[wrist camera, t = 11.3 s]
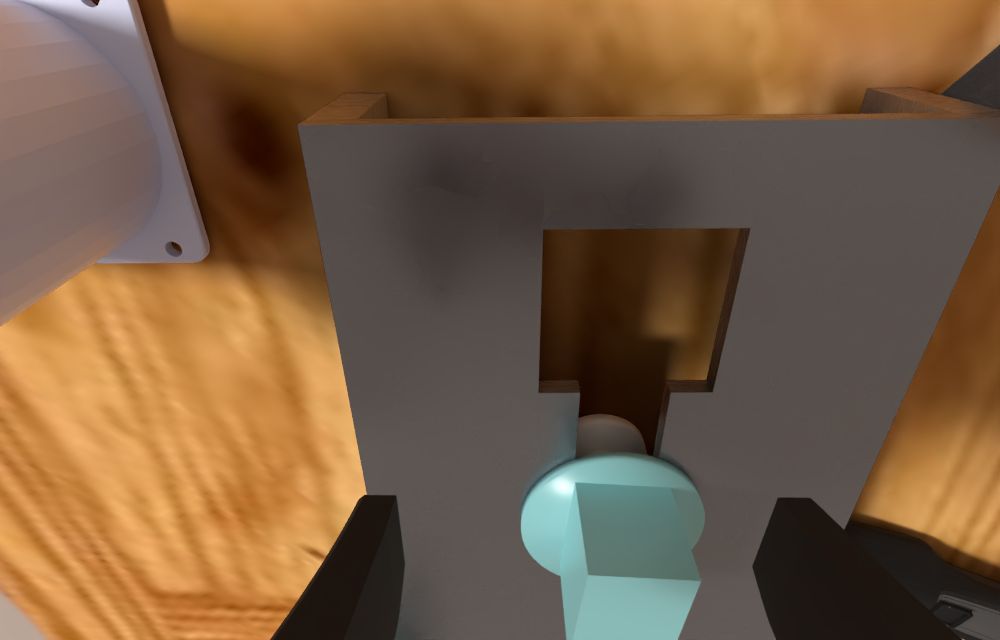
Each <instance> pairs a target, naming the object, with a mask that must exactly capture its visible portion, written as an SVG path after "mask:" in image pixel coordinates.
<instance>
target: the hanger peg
mask: <svg viewBox="0 0 1000 640" xmlns="http://www.w3.org/2000/svg"><path fill="white" fill-rule="evenodd" d="M704 522H705V512H704V507H703V504H702V501H701V498H700V495H699V493H698V490H697V489H696V487H695V485H694V483H693V482H692V481H691V480H690V478H689V477H688V476H687V475H686V474H685V473H683V472H682V471H681V470H680V469H678V468H677V467H675V466H674V465H672V464H670V463H668V462H666V461H664V460H661V459H658V458H655V457H652V456H649V455H647V450H646V447H645V443H644V440H643V437H642V435H641V433H640V431H639V430H638V429H637V428H636V427H635V426H634V425H633V424H632V423H631V422H629V421H627V420H625V419H623V418H621V417H618V416H614V415H608V414H593V415H587V416H583V417H580V418H578V427H577V440H576V453H575V460H572V461H570V462H567V463H565V464H563V465H561V466H559V467H557V468H555V469H554V470H552V471H551V472H549V473H548V474H546V475H545V476H544V477H543V478H542V479H540V480H539V481H538V482H537V483H536V484H535V486H534V487H533V488H532V489H531V490H530V492H529V494H528V495H527V497H526V499H525V501H524V504H523V507H522V511H521V534H522V539H523V542H524V545H525V547H526V549H527V550H528V552H529V554H530V555H531V556H532V557H533V558H534V559H535V560H536V561H537V562H538V563H539V564H540V565H541V566H543V567H544V568H546V569H547V570H549V571H551V572H553V573H555V574H556V575H559V576H561V587H562V598H563V609H564V619H565V630H566V640H678V638H679V635H680V633H681V630H682V628H683V625H684V623H685V620H686V618H687V615H688V613H689V610H690V608H691V605H692V603H693V601H694V598H695V596H696V593H697V591H698V588H699V586H700V583H701V578H700V575H699V572H698V569H697V566H696V563H695V560H694V557H693V554H692V551H691V550H692V549H693V547H694V546H695V545H696V543H697V542H698V540H699V538H700V536H701V534H702V531H703V528H704Z"/></svg>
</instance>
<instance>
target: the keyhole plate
mask: <svg viewBox="0 0 1000 640" xmlns="http://www.w3.org/2000/svg"><path fill="white" fill-rule="evenodd" d="M297 126H298V131H299V137H300V142H301V147H302V152H303V158H304V163H305V168H306V174H307V179H308V184H309V189H310V195H311V200H312V205H313V211H314V216H315V221H316V227H317V232H318V237H319V242H320V248H321V253H322V258H323V264H324V269H325V274H326V279H327V285H328V290H329V295H330V301H331V306H332V311H333V317H334V322H335V327H336V332H337V338H338V343H339V348H340V354H341V359H342V364H343V369H344V375H345V380H346V385H347V391H348V396H349V401H350V407H351V412H352V417H353V422H354V428H355V433H356V438H357V444H358V449H359V454H360V459H361V465H362V470H363V475H364V481H365V486H366V491H367V495H396V496H397V503H398V511H399V519H400V527H401V535H402V543H403V551H404V559H405V571H404V580H403V589H402V597H401V605H400V613H399V621H398V626H397V631H396V635H395V640H566V630H565V619H564V609H563V598H562V587H561V576H559V575H556V574H555V573H553V572H551V571H549V570H547V569H546V568H544V567H543V566H541V565H540V564H539V563H538V562H537V561H536V560H535V559H534V558H533V557H532V556H531V555H530V554H529V552H528V550H527V549H526V547H525V545H524V542H523V539H522V534H521V511H522V507H523V504H524V501H525V499H526V497H527V495H528V494H529V492H530V490H531V489H532V488H533V487H534V486H535V484H536V483H537V482H538V481H539V480H540V479H542V478H543V477H544V476H545V475H546V474H548V473H549V472H551V471H552V470H554V469H555V468H557V467H559V466H561V465H563V464H565V463H567V462H570V461H572V460H575V453H576V440H577V427H578V414H579V401H580V389H579V384H578V380H543V381H539V356H540V322H541V289H542V255H543V230H555V229H687V228H740V229H739V234H738V238H737V243H736V248H735V252H734V257H733V261H732V266H731V270H730V275H729V279H728V284H727V289H726V293H725V298H724V302H723V307H722V311H721V316H720V321H719V325H718V330H717V334H716V339H715V343H714V348H713V352H712V357H711V362H710V366H709V371H708V375H707V380H666V382H665V387H664V393H663V399H662V405H661V411H660V416H659V422H658V428H657V434H656V439H655V445H654V451H653V457H655V458H658V459H661V460H664V461H666V462H668V463H670V464H672V465H674V466H675V467H677V468H678V469H680V470H681V471H682V472H683V473H685V474H686V475H687V476H688V477H689V478H690V480H691V481H692V482H693V483H694V485H695V487H696V489H697V490H698V493H699V495H700V498H701V501H702V504H703V507H704V512H705V522H704V528H703V531H702V534H701V536H700V538H699V540H698V542H697V543H696V545H695V546H694V547H693V549H692V550H691V551H692V554H693V557H694V560H695V563H696V566H697V569H698V572H699V575H700V578H701V583H700V586H699V588H698V591H697V593H696V596H695V598H694V601H693V603H692V605H691V608H690V610H689V613H688V615H687V618H686V620H685V623H684V625H683V628H682V630H681V633H680V635H679V638H678V640H776V638H775V636H774V633H773V631H772V628H771V626H770V624H769V621H768V618H767V615H766V611H765V608H764V605H763V602H762V599H761V595H760V592H759V589H758V585H757V582H756V578H755V575H754V571H753V568H752V565H753V563H754V560H755V557H756V555H757V552H758V549H759V547H760V544H761V541H762V539H763V536H764V533H765V531H766V528H767V525H768V523H769V520H770V517H771V515H772V512H773V509H774V507H775V504H776V501H777V499H778V497H793V498H811V499H812V500H813V501H814V502H816V503H817V504H818V505H819V506H820V507H821V508H822V509H823V510H824V511H825V512H826V513H827V514H828V515H829V516H830V517H831V518H832V519H833V520H835V521H836V522H837V523H838V524H839V525H840V526H841V527H842V528H843V529H845V527H846V525H847V523H848V520H849V518H850V516H851V514H852V512H853V509H854V507H855V505H856V503H857V501H858V498H859V496H860V494H861V492H862V489H863V487H864V485H865V483H866V481H867V478H868V476H869V474H870V472H871V470H872V467H873V465H874V463H875V461H876V458H877V456H878V454H879V452H880V450H881V447H882V445H883V443H884V441H885V438H886V436H887V434H888V432H889V430H890V427H891V425H892V423H893V421H894V419H895V416H896V414H897V412H898V410H899V407H900V405H901V403H902V401H903V399H904V396H905V394H906V392H907V390H908V388H909V385H910V383H911V381H912V379H913V376H914V374H915V372H916V370H917V368H918V365H919V363H920V361H921V359H922V356H923V354H924V352H925V350H926V348H927V345H928V343H929V341H930V339H931V337H932V334H933V332H934V330H935V328H936V325H937V323H938V321H939V319H940V317H941V314H942V312H943V310H944V308H945V306H946V303H947V301H948V299H949V297H950V294H951V292H952V290H953V288H954V286H955V283H956V281H957V279H958V277H959V274H960V272H961V270H962V268H963V266H964V263H965V261H966V259H967V257H968V255H969V252H970V250H971V248H972V246H973V243H974V241H975V239H976V237H977V235H978V232H979V230H980V228H981V226H982V224H983V221H984V219H985V217H986V215H987V212H988V210H989V208H990V206H991V204H992V201H993V199H994V197H995V195H996V193H997V190H998V188H999V186H1000V110H998V109H994V108H990V107H986V106H982V105H978V104H974V103H970V102H966V101H962V100H959V99H955V98H951V97H947V96H943V95H939V94H935V93H931V92H927V91H923V90H919V89H915V88H911V87H906V88H867V92H866V95H865V98H864V102H863V105H862V108H861V111H860V114H785V115H687V116H589V117H491V118H393V119H389V115H388V105H387V96H386V93H351V94H343V95H341V96H340V97H338V98H337V99H335V100H334V101H332V102H331V103H329V104H328V105H326V106H325V107H323V108H322V109H320V110H319V111H317V112H316V113H314V114H313V115H311V116H310V117H308V118H307V119H305V120H304V121H302V122H301V123H299V124H298V125H297Z"/></svg>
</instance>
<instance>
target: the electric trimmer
mask: <svg viewBox="0 0 1000 640" xmlns="http://www.w3.org/2000/svg"><path fill="white" fill-rule="evenodd" d="M844 530H845V531H846V532H847V533H848V534H849V535H850V536H851V537H852V538H853V539H854V540H855V541H856V542H857V543H858V544H859V545H860V546H861V547H862V548H863V549H865V550H866V551H867V552H868V553H869V554H870V555H871V556H872V557H873V558H874V559H875V560H876V561H877V562H878V563H879V564H880V565H881V566H882V567H883V568H884V569H885V570H886V571H888V572H889V573H890V574H891V575H892V576H893V577H894V578H895V579H896V580H897V581H898V582H899V583H900V584H901V585H902V586H903V587H905V588H906V589H907V590H908V591H909V592H910V593H911V594H912V595H913V596H914V597H915V598H916V599H917V600H919V601H920V602H921V603H922V604H923V605H924V606H925V607H926V608H927V609H928V610H930V611H931V612H932V613H933V614H934V615H935V616H936V617H937V618H938V619H940V620H941V621H942V622H943V623H944V624H945V625H946V626H947V627H949V628H950V629H951V630H952V631H953V632H954V633H955V634H956V635H958V636H959V637H960V638H962V639H964V640H1000V583H998V582H995V581H993V580H990V579H987V578H985V577H982V576H979V575H977V574H974V573H971V572H969V571H966V570H964V569H961V568H958V567H956V566H953V565H950V564H948V563H946V562H945V561H944V560H943V559H941V558H940V557H939V556H938V555H937V554H936V553H935V552H934V550H933V549H932V548H931V547H930V546H929V545H928V544H927V543H925V542H924V541H922V540H920V539H917V538H914V537H911V536H907V535H904V534H900V533H896V532H892V531H888V530H884V529H880V528H876V527H872V526H868V525H864V524H860V523H855V522H851V521H848V523H847V525H846V527H845V529H844Z"/></svg>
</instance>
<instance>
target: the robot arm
mask: <svg viewBox="0 0 1000 640" xmlns="http://www.w3.org/2000/svg"><path fill="white" fill-rule="evenodd" d="M171 242H176V243H177V244H178V245H180V247H181V249H182V252H180V251H177V250H176V249H174V248H173V246H172V244H171ZM209 252H210V244H209V241H208V237H207V234H206V231H205V227H204V224H203V221H202V217H201V214H200V210H199V207H198V204H197V200H196V197H195V194H194V190H193V187H192V184H191V180H190V177H189V173H188V170H187V167H186V163H185V160H184V157H183V153H182V150H181V146H180V143H179V140H178V136H177V133H176V130H175V126H174V123H173V120H172V116H171V113H170V109H169V106H168V103H167V99H166V96H165V93H164V89H163V86H162V82H161V79H160V76H159V72H158V69H157V66H156V62H155V59H154V56H153V52H152V49H151V45H150V42H149V39H148V35H147V32H146V29H145V25H144V22H143V18H142V15H141V12H140V8H139V5H138V2H137V0H100V2H99V4H98V6H97V5H96V4H94V3H93V2H92V1H91V0H0V326H2V325H3V324H5V323H6V322H8V321H9V320H11V319H12V318H14V317H15V316H17V315H18V314H20V313H21V312H23V311H24V310H26V309H27V308H29V307H30V306H32V305H33V304H35V303H36V302H38V301H39V300H40V299H42V298H43V297H45V296H46V295H48V294H49V293H51V292H52V291H54V290H55V289H57V288H58V287H60V286H61V285H63V284H64V283H66V282H67V281H69V280H70V279H72V278H73V277H75V276H76V275H78V274H79V273H80V272H82V271H83V270H85V269H86V268H88V267H89V266H91V265H92V264H94V263H196V262H200V261H201V260H203V259H204V258H205V257H206V256H207V255H208V254H209ZM752 568H753V571H754V575H755V578H756V582H757V585H758V589H759V592H760V595H761V599H762V602H763V605H764V608H765V611H766V615H767V618H768V621H769V624H770V626H771V628H772V631H773V633H774V636H775V638H776V640H962V639H961V638H960V637H959V636H958V635H956V634H955V633H954V632H953V631H952V630H951V629H950V628H949V627H947V626H946V625H945V624H944V623H943V622H942V621H941V620H940V619H938V618H937V617H936V616H935V615H934V614H933V613H932V612H931V611H930V610H928V609H927V608H926V607H925V606H924V605H923V604H922V603H921V602H920V601H919V600H917V599H916V598H915V597H914V596H913V595H912V594H911V593H910V592H909V591H908V590H907V589H906V588H905V587H903V586H902V585H901V584H900V583H899V582H898V581H897V580H896V579H895V578H894V577H893V576H892V575H891V574H890V573H889V572H888V571H886V570H885V569H884V568H883V567H882V566H881V565H880V564H879V563H878V562H877V561H876V560H875V559H874V558H873V557H872V556H871V555H870V554H869V553H868V552H867V551H866V550H865V549H863V548H862V547H861V546H860V545H859V544H858V543H857V542H856V541H855V540H854V539H853V538H852V537H851V536H850V535H849V534H848V533H847V532H846V531H845V530H844V529H843V528H842V527H841V526H840V525H839V524H838V523H837V522H836V521H835V520H833V519H832V518H831V517H830V516H829V515H828V514H827V513H826V512H825V511H824V510H823V509H822V508H821V507H820V506H819V505H818V504H817V503H816V502H814V501H813V500H812V499H811V498H793V497H778V499H777V501H776V504H775V507H774V509H773V512H772V515H771V517H770V520H769V523H768V525H767V528H766V531H765V533H764V536H763V539H762V541H761V544H760V547H759V549H758V552H757V555H756V557H755V560H754V563H753V565H752ZM404 571H405V559H404V551H403V543H402V535H401V527H400V519H399V511H398V503H397V496H396V495H364V496H362V497H361V498H360V499H359V500H358V502H357V504H356V506H355V508H354V510H353V512H352V514H351V515H350V517H349V519H348V521H347V523H346V524H345V526H344V528H343V530H342V531H341V533H340V535H339V537H338V538H337V540H336V542H335V543H334V545H333V547H332V548H331V550H330V552H329V553H328V555H327V556H326V558H325V560H324V561H323V563H322V565H321V566H320V568H319V569H318V571H317V572H316V574H315V575H314V577H313V578H312V580H311V581H310V583H309V584H308V586H307V588H306V589H305V591H304V592H303V594H302V595H301V597H300V598H299V600H298V601H297V603H296V604H295V606H294V607H293V609H292V610H291V611H290V613H289V614H288V616H287V617H286V618H285V620H284V621H283V623H282V624H281V625H280V627H279V628H278V630H277V631H276V632H275V634H274V635H273V636H272V638H271V639H270V640H395V635H396V631H397V626H398V621H399V613H400V605H401V597H402V589H403V580H404Z"/></svg>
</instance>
